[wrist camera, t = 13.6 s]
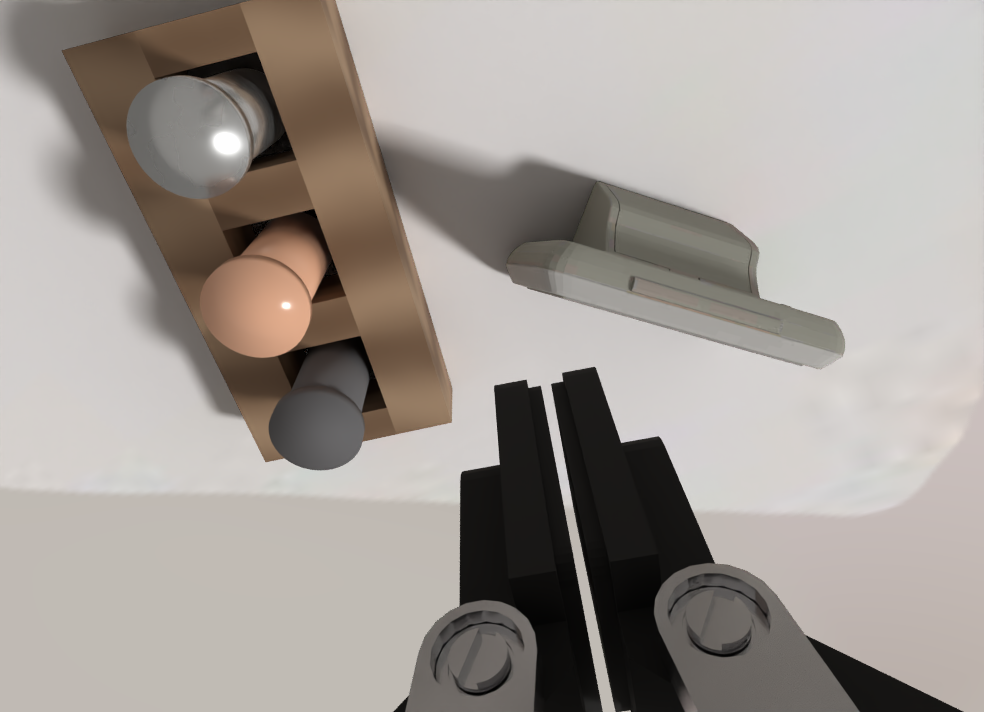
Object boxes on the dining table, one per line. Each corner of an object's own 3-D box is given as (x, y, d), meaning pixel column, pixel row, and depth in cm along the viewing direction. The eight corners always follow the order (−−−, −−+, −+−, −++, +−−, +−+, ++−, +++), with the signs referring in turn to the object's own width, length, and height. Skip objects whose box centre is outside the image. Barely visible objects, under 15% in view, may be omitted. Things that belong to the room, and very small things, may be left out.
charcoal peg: (293, 326, 41) (253, 404, 33) (367, 309, 40) (345, 384, 33) (320, 390, 43) (288, 478, 35) (390, 375, 43) (374, 459, 35)
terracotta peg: (241, 215, 37) (181, 274, 29) (323, 195, 36) (285, 249, 28) (274, 292, 39) (226, 367, 31) (351, 274, 39) (323, 345, 31)
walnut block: (103, 45, 33) (61, 50, 30) (330, -15, 32) (314, -17, 29) (280, 425, 44) (265, 462, 41) (452, 388, 44) (451, 422, 40)
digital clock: (489, 262, 40) (498, 343, 30) (568, 125, 36) (606, 169, 27) (700, 371, 44) (764, 471, 35) (789, 259, 40) (889, 336, 31)
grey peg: (187, 72, 34) (104, 94, 26) (276, 49, 33) (219, 63, 26) (226, 164, 36) (160, 210, 28) (309, 143, 36) (266, 184, 28)
